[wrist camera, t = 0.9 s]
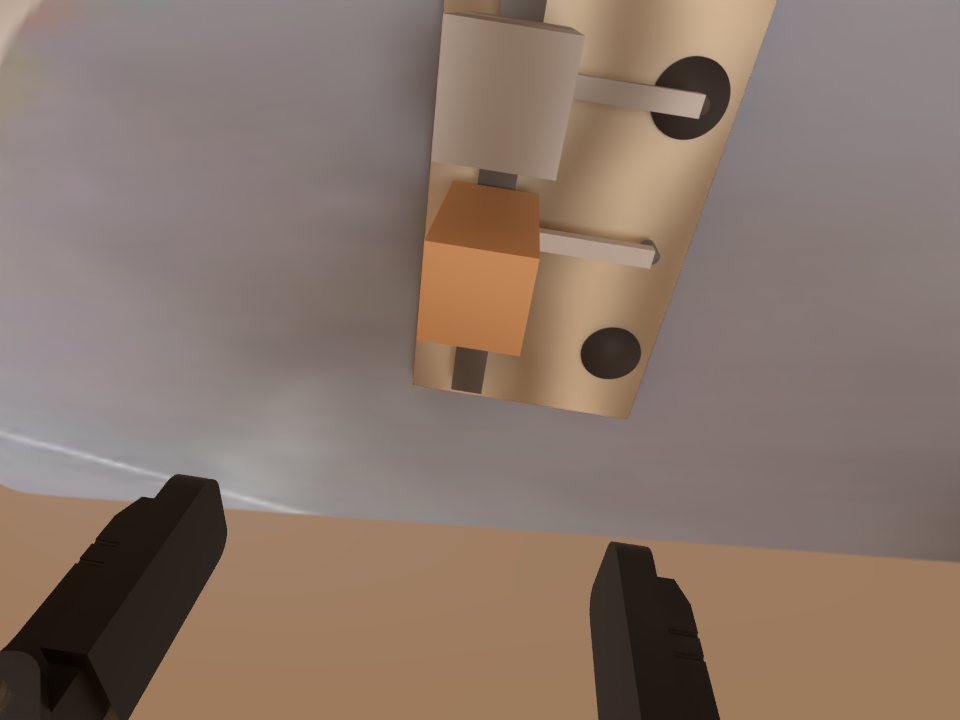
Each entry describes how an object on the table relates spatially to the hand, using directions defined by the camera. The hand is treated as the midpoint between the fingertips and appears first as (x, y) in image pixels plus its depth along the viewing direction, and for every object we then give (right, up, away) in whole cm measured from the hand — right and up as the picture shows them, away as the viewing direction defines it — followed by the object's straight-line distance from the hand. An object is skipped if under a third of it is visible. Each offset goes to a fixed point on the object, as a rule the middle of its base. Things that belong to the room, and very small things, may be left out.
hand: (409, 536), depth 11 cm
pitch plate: (+5, +10, +15) cm, 19 cm away
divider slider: (+5, +9, +13) cm, 17 cm away
